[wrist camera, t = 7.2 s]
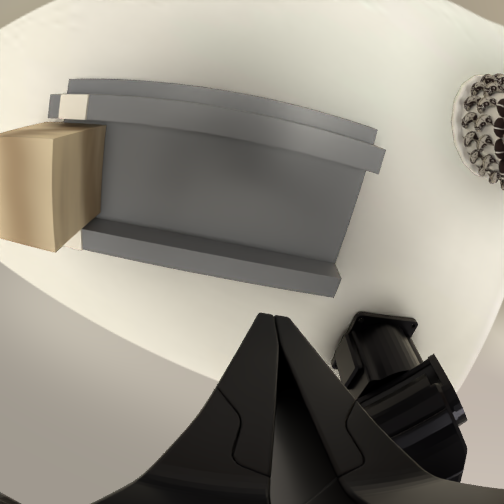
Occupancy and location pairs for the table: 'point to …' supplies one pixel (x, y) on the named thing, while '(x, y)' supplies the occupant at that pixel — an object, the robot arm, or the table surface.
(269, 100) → the chute
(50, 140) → the block
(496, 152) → the banded tower model
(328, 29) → the table surface
